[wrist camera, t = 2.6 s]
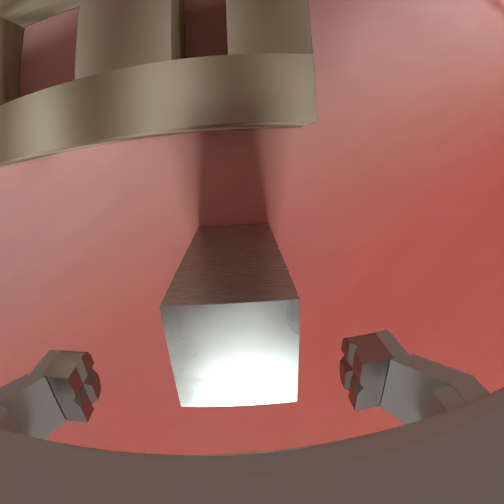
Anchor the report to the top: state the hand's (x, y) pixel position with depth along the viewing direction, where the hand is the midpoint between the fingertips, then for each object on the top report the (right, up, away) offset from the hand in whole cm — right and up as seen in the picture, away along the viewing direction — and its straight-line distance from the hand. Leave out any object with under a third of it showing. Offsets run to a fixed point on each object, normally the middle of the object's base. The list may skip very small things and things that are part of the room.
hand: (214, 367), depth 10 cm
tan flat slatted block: (-6, +16, +5) cm, 18 cm away
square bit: (0, +3, +10) cm, 10 cm away
